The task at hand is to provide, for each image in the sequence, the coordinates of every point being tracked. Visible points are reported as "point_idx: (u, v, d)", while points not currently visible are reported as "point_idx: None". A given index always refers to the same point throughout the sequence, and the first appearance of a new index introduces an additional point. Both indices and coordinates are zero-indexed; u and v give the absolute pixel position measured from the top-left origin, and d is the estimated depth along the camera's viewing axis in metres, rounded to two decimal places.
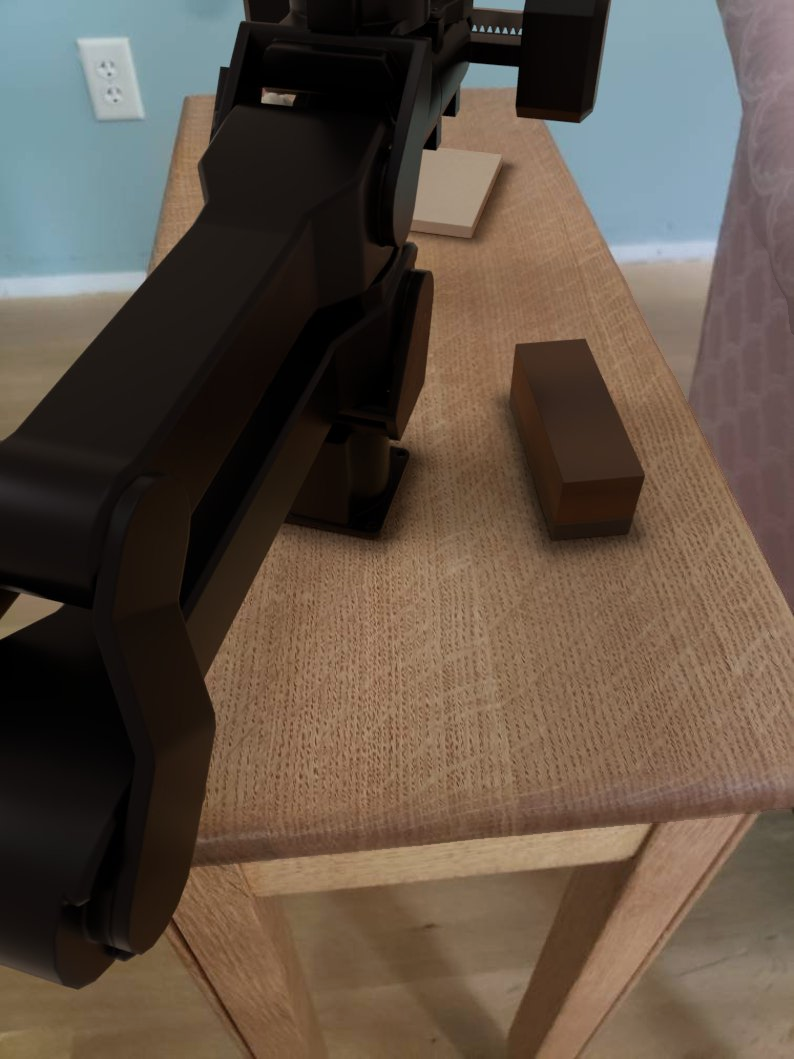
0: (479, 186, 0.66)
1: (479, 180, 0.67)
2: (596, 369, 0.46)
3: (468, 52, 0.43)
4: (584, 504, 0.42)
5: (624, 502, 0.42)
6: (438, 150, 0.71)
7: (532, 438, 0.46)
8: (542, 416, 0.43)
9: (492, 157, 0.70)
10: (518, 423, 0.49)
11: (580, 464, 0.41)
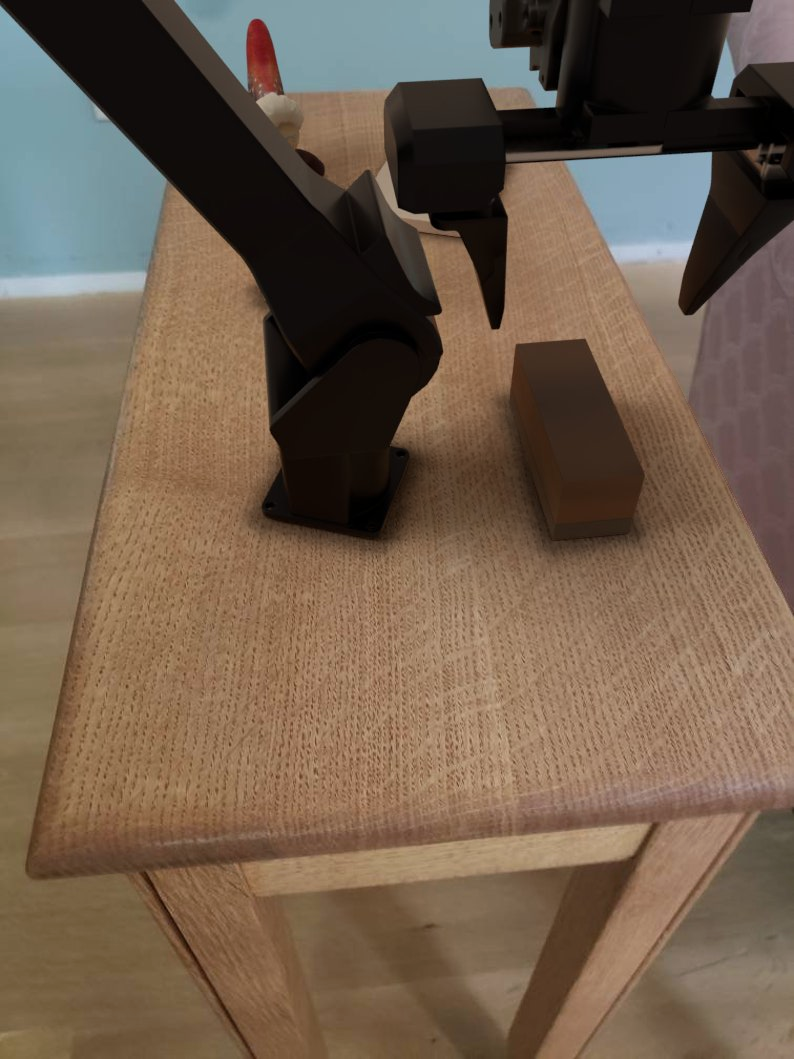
0: None
1: None
2: (596, 369, 0.46)
3: None
4: (584, 504, 0.42)
5: (624, 502, 0.42)
6: None
7: (532, 438, 0.46)
8: (542, 416, 0.43)
9: None
10: (518, 423, 0.49)
11: (580, 464, 0.41)
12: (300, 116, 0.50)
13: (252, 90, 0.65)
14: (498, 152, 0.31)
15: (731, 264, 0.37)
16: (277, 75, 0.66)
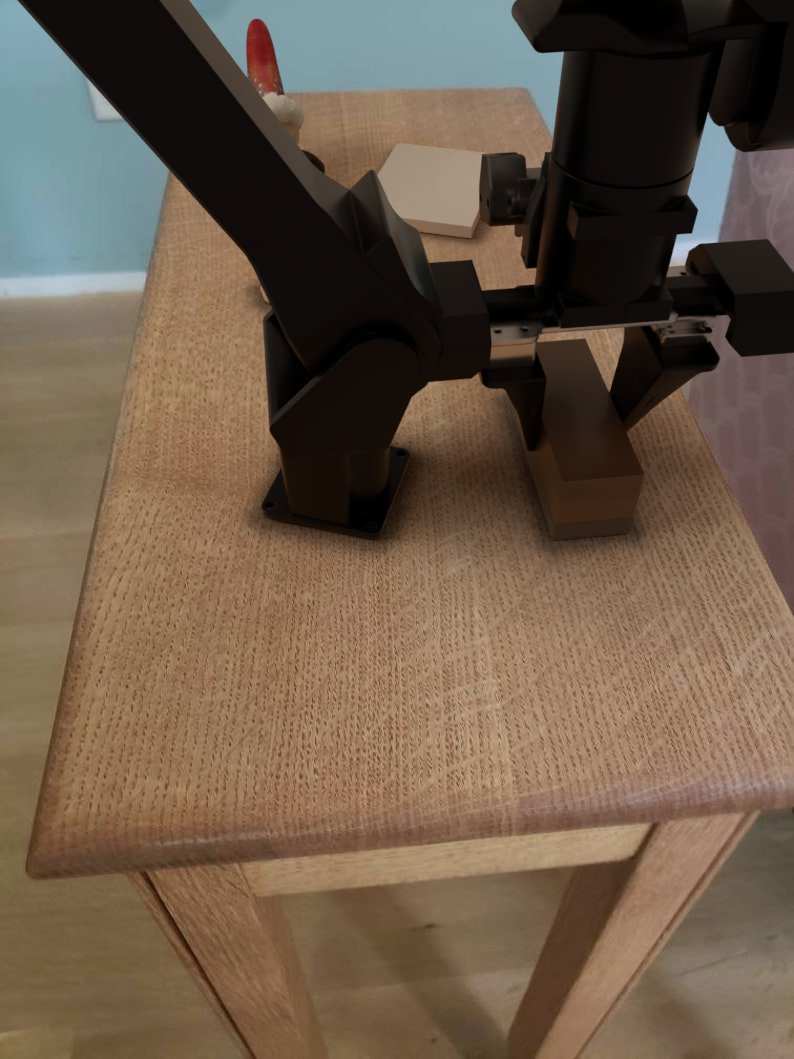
0: None
1: (479, 180, 0.67)
2: (596, 369, 0.46)
3: None
4: (584, 504, 0.42)
5: (624, 502, 0.42)
6: (438, 150, 0.71)
7: None
8: (542, 416, 0.43)
9: None
10: (518, 423, 0.49)
11: (579, 464, 0.41)
12: (300, 116, 0.50)
13: None
14: (485, 336, 0.37)
15: (640, 410, 0.42)
16: (277, 75, 0.66)
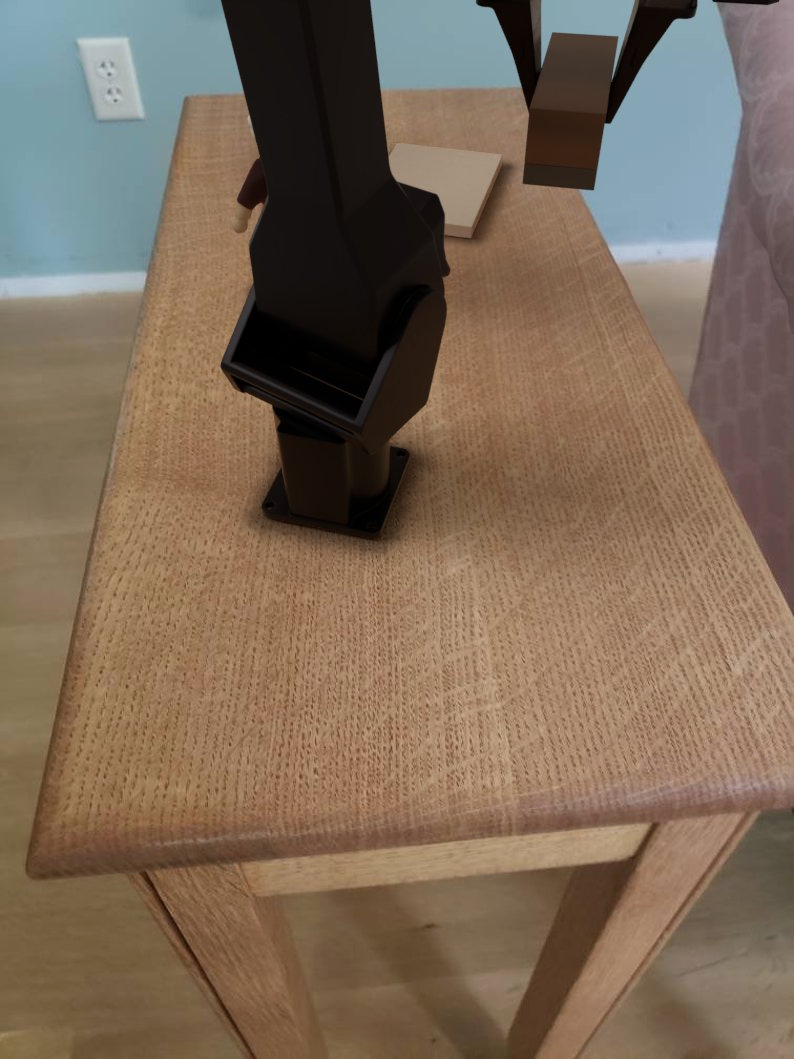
0: (479, 186, 0.66)
1: (479, 180, 0.67)
2: (613, 53, 0.50)
3: None
4: (550, 141, 0.46)
5: (587, 146, 0.46)
6: (438, 150, 0.71)
7: None
8: (541, 72, 0.48)
9: (492, 157, 0.70)
10: None
11: (552, 100, 0.46)
12: None
13: None
14: None
15: (627, 71, 0.46)
16: None
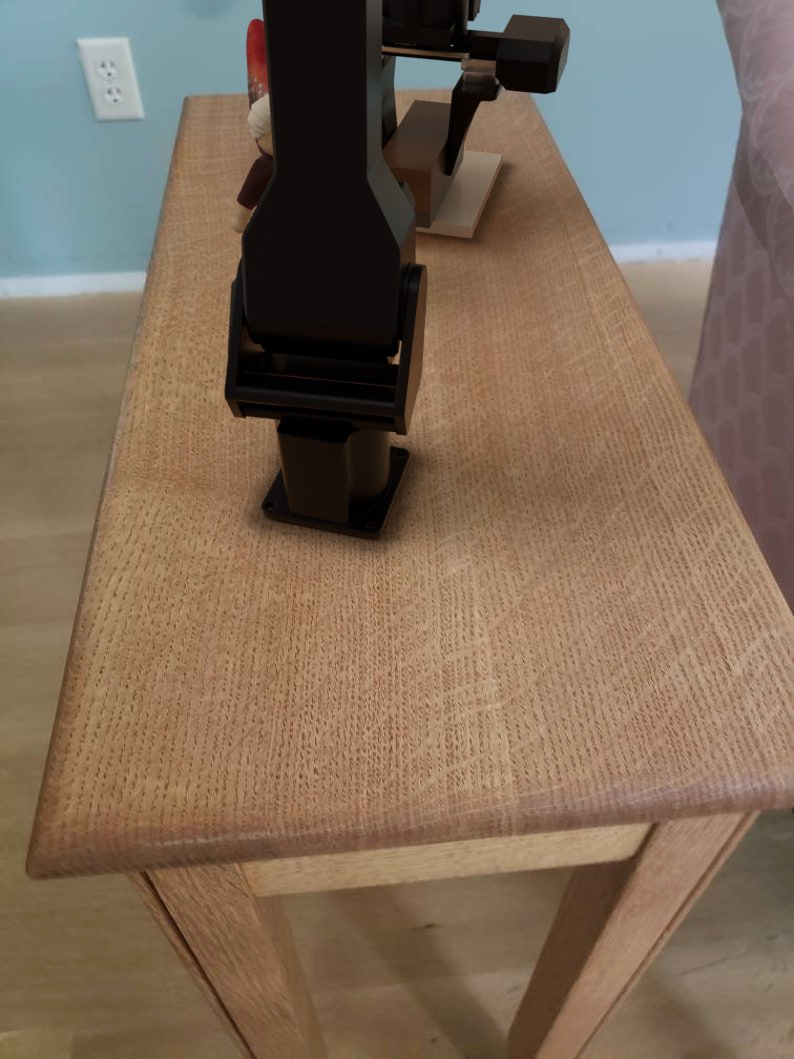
0: (479, 186, 0.66)
1: (479, 180, 0.67)
2: None
3: (467, 22, 0.55)
4: None
5: (420, 195, 0.59)
6: None
7: None
8: (393, 134, 0.61)
9: (492, 157, 0.70)
10: None
11: (393, 158, 0.59)
12: None
13: (252, 90, 0.65)
14: None
15: (454, 137, 0.59)
16: None
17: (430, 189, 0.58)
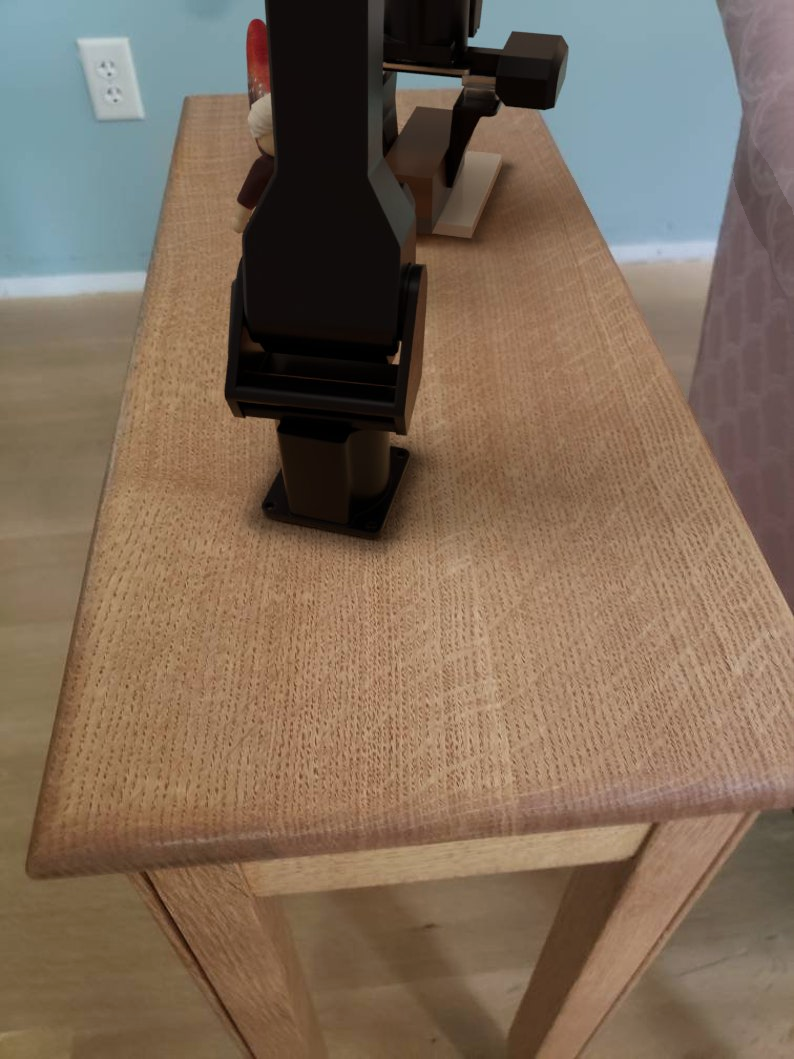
0: (479, 186, 0.66)
1: (479, 180, 0.67)
2: None
3: (467, 39, 0.56)
4: None
5: (422, 201, 0.60)
6: None
7: None
8: (395, 141, 0.62)
9: (492, 157, 0.70)
10: None
11: (395, 165, 0.59)
12: None
13: (252, 90, 0.65)
14: None
15: (455, 151, 0.60)
16: None
17: (432, 196, 0.59)
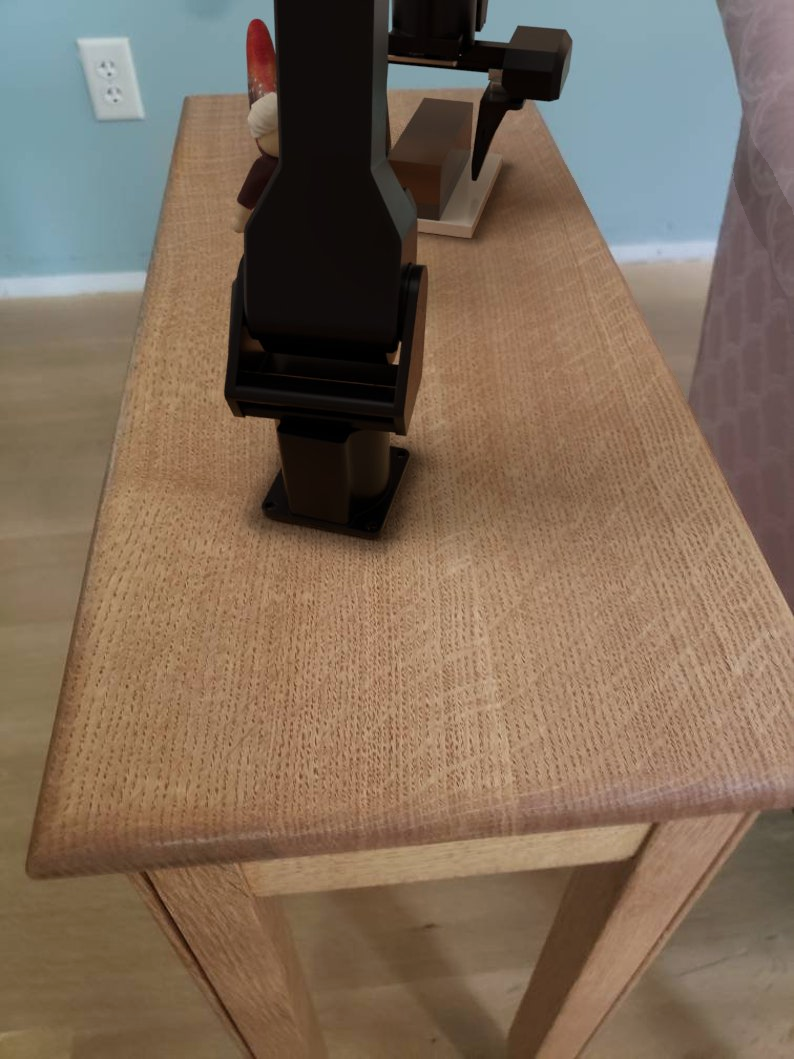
0: (479, 186, 0.66)
1: (479, 180, 0.67)
2: (463, 116, 0.65)
3: (474, 33, 0.58)
4: (403, 183, 0.61)
5: (430, 188, 0.61)
6: None
7: None
8: (404, 130, 0.64)
9: (492, 157, 0.70)
10: None
11: (404, 153, 0.61)
12: None
13: (252, 90, 0.65)
14: None
15: (481, 144, 0.62)
16: None
17: (440, 183, 0.61)
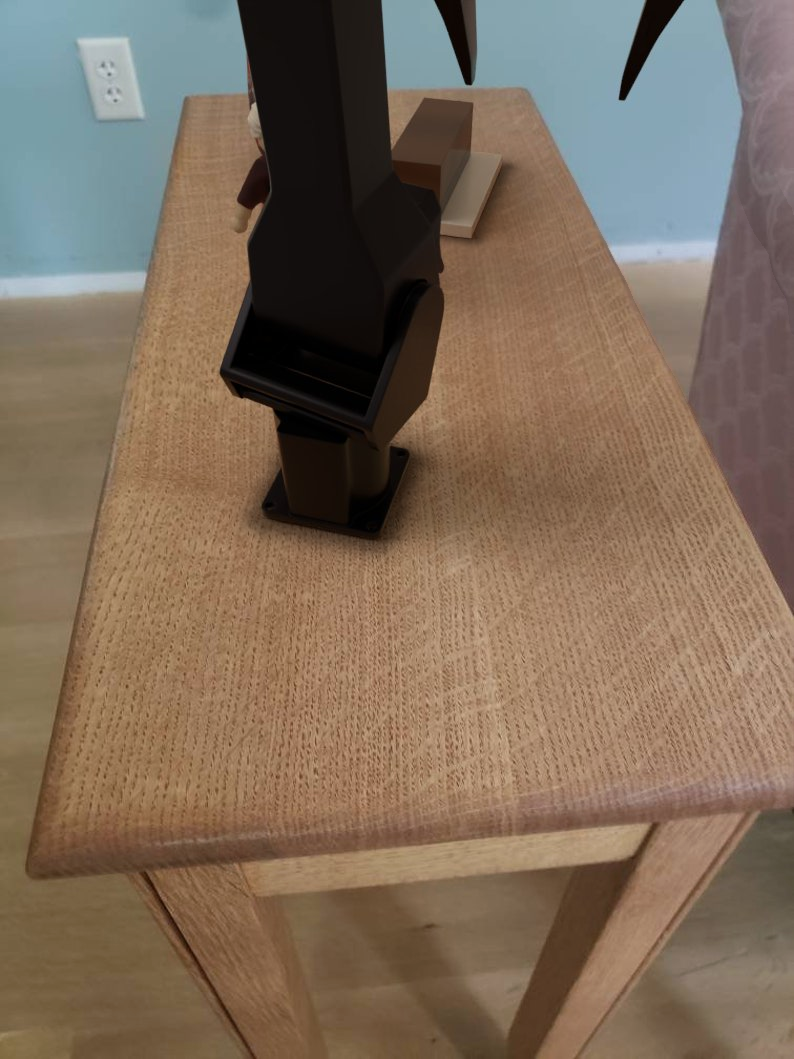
0: (479, 186, 0.66)
1: (479, 180, 0.67)
2: (463, 116, 0.65)
3: None
4: None
5: (430, 188, 0.61)
6: None
7: None
8: (404, 130, 0.64)
9: (492, 157, 0.70)
10: None
11: (404, 153, 0.61)
12: None
13: (252, 90, 0.65)
14: None
15: (641, 46, 0.47)
16: None
17: (440, 183, 0.61)
